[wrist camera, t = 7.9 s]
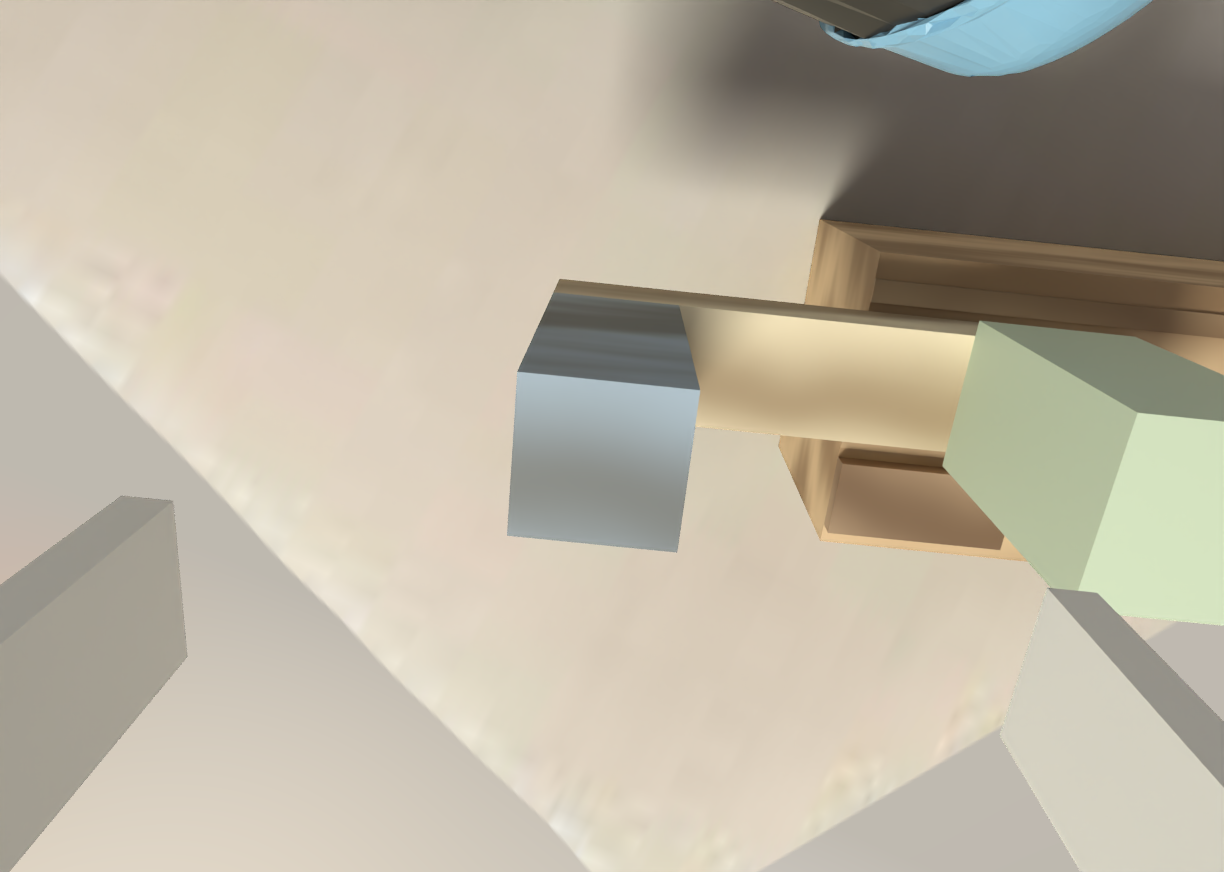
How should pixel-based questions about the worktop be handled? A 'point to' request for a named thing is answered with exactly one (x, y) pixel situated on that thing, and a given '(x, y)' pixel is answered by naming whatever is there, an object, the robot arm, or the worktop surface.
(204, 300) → the worktop surface
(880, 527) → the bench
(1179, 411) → the block
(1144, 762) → the robot arm
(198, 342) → the worktop surface
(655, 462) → the beige piece
